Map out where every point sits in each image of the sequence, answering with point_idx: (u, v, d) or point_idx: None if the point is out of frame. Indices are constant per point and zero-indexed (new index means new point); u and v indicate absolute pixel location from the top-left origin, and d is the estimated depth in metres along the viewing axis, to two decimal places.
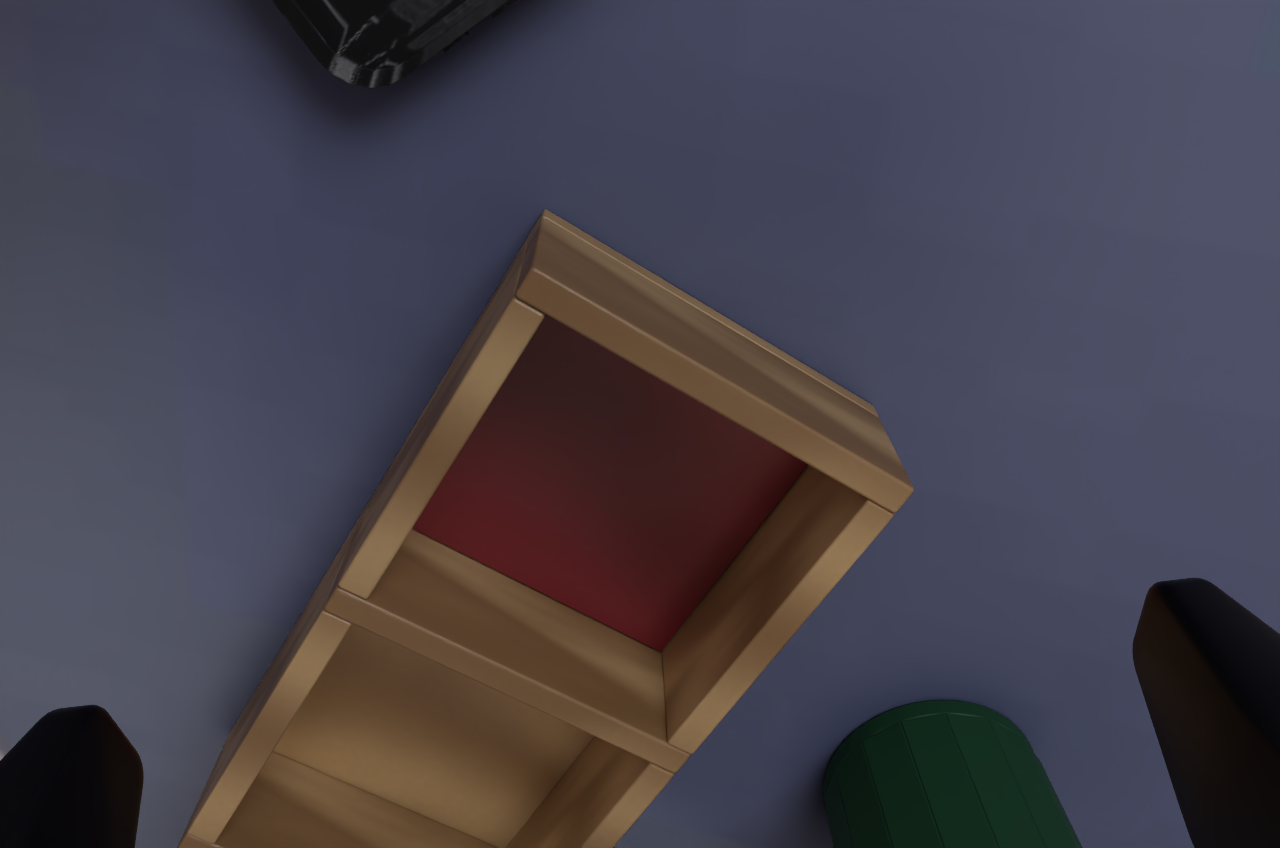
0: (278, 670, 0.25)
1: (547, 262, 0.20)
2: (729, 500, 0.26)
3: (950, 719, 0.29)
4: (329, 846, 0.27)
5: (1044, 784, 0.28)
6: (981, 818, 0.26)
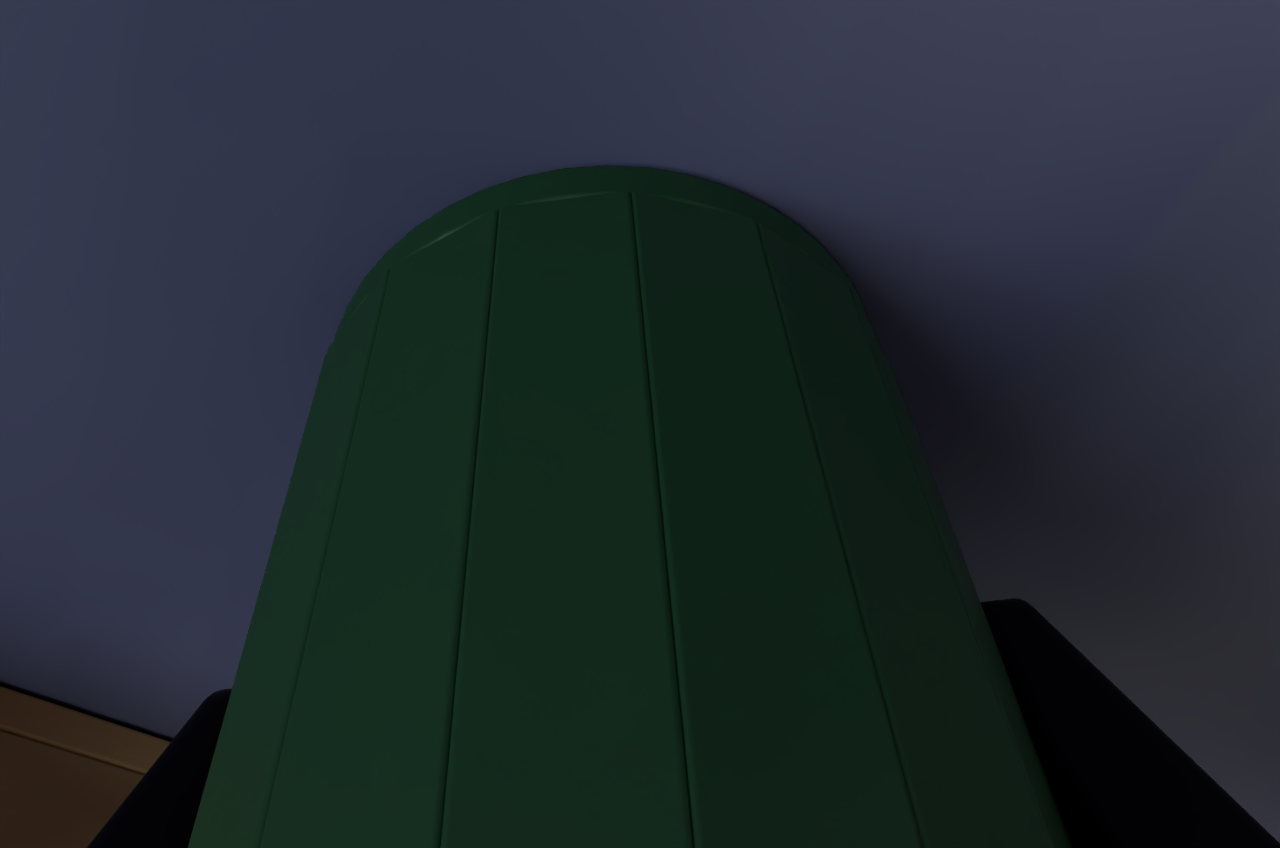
0: None
1: None
2: None
3: None
4: None
5: (362, 386, 0.09)
6: None
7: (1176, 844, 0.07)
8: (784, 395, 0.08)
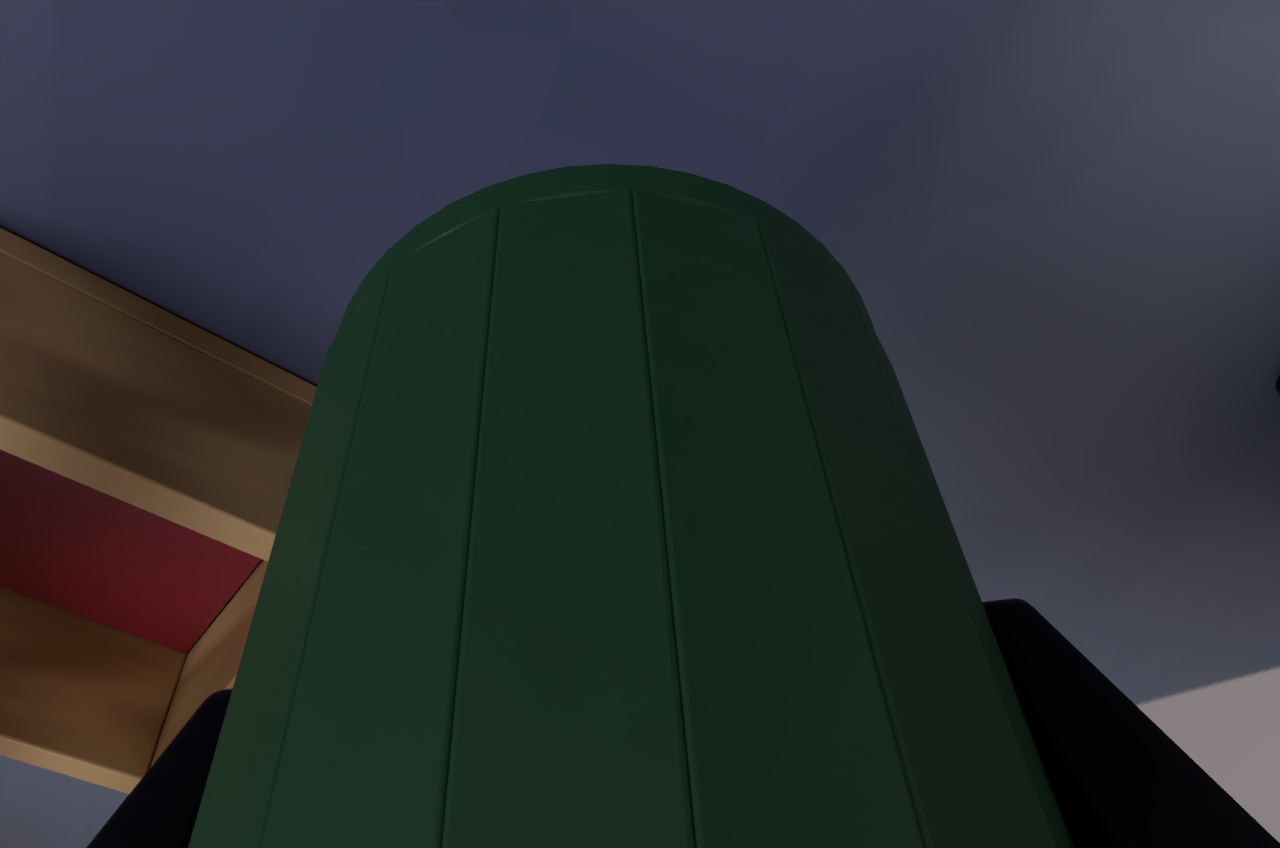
0: None
1: None
2: None
3: None
4: None
5: (362, 384, 0.09)
6: None
7: (1176, 844, 0.07)
8: (785, 393, 0.08)
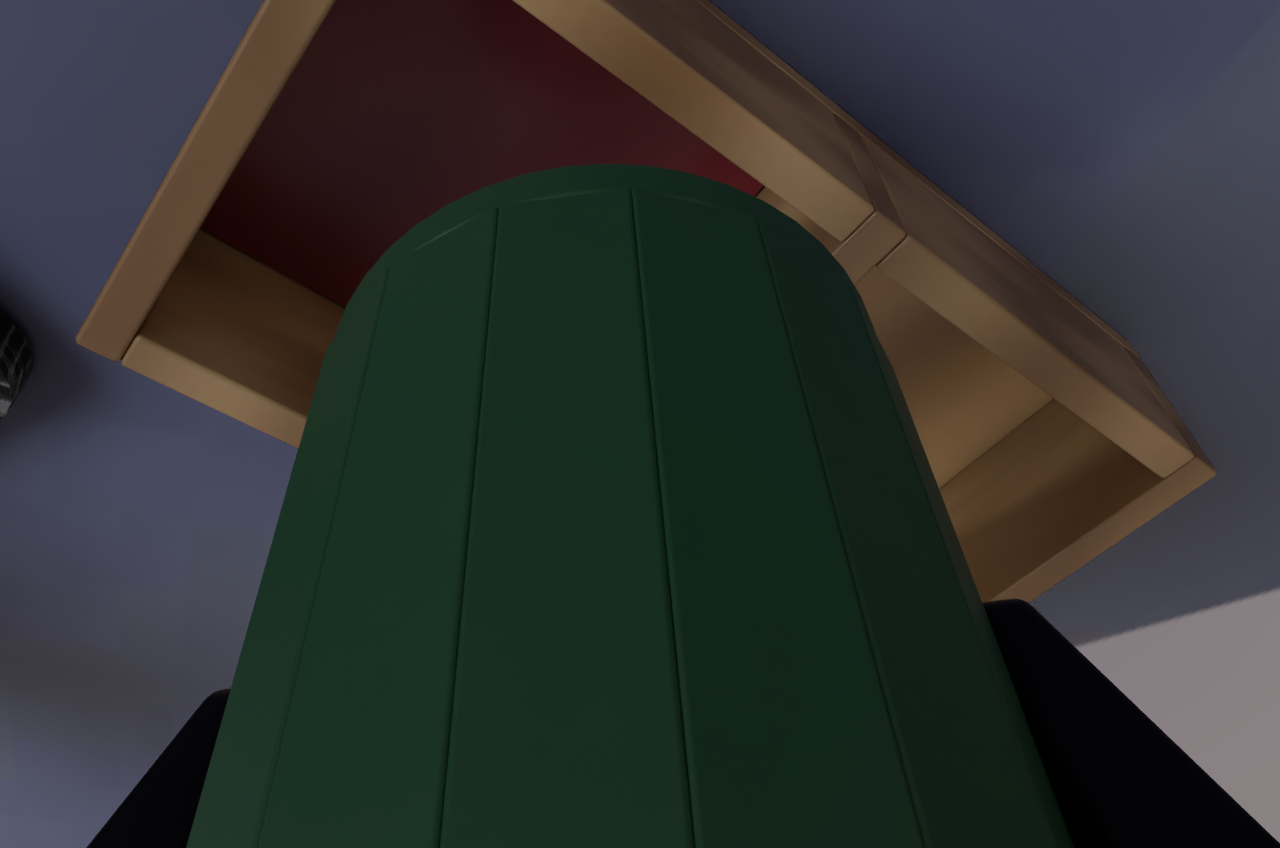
0: None
1: None
2: (542, 31, 0.17)
3: None
4: None
5: (361, 384, 0.09)
6: None
7: (1176, 844, 0.07)
8: (784, 393, 0.08)
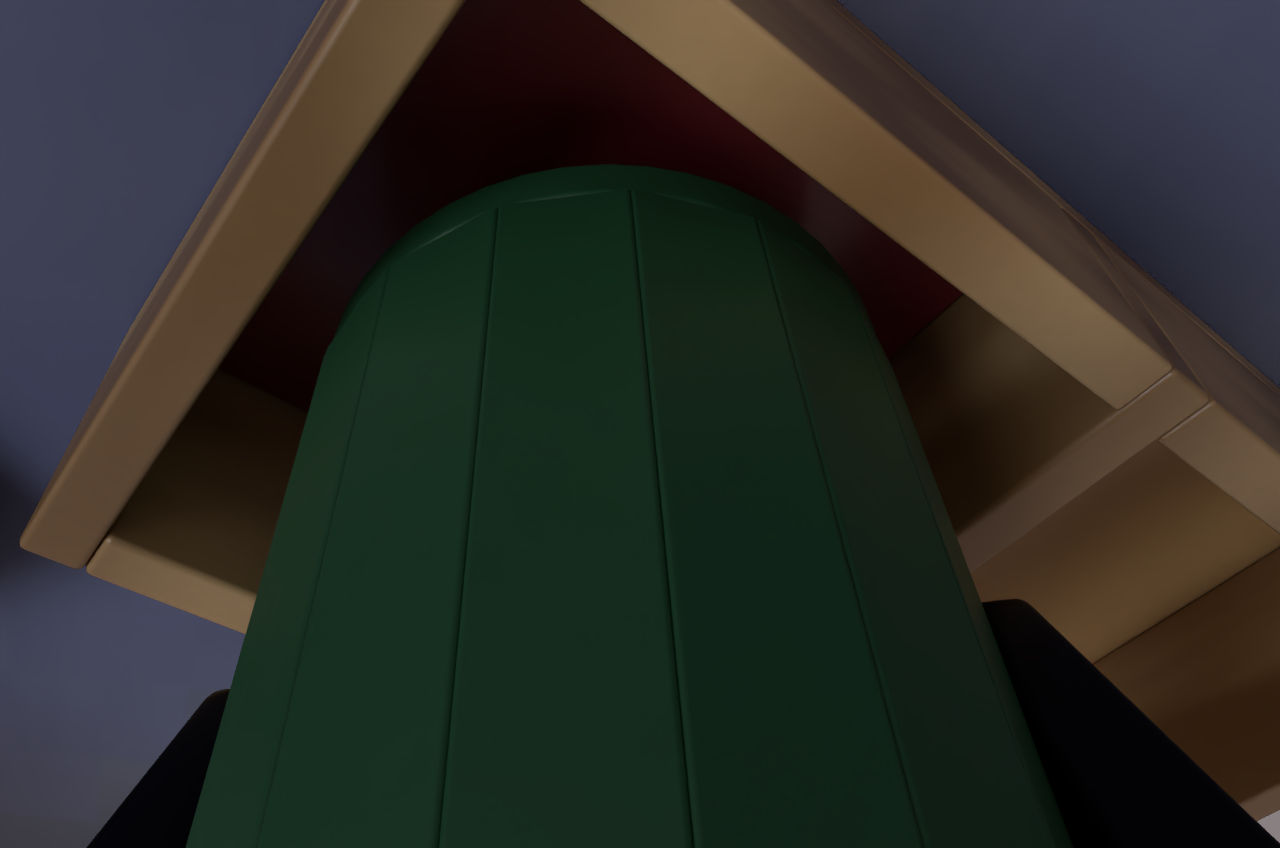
0: None
1: (46, 488, 0.12)
2: (676, 101, 0.12)
3: None
4: None
5: (360, 385, 0.09)
6: None
7: (1176, 844, 0.07)
8: (784, 393, 0.08)
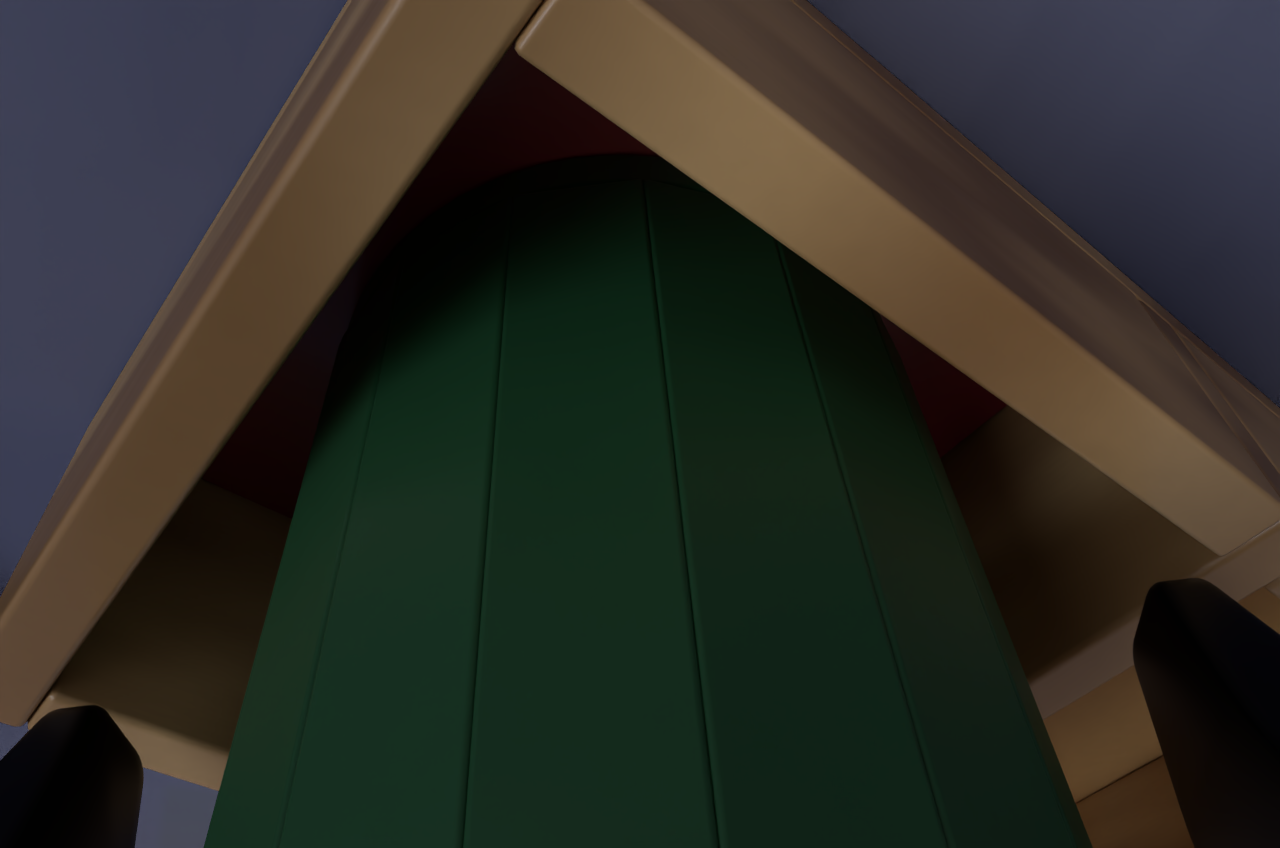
0: None
1: None
2: None
3: None
4: None
5: (378, 371, 0.09)
6: None
7: None
8: (796, 378, 0.08)
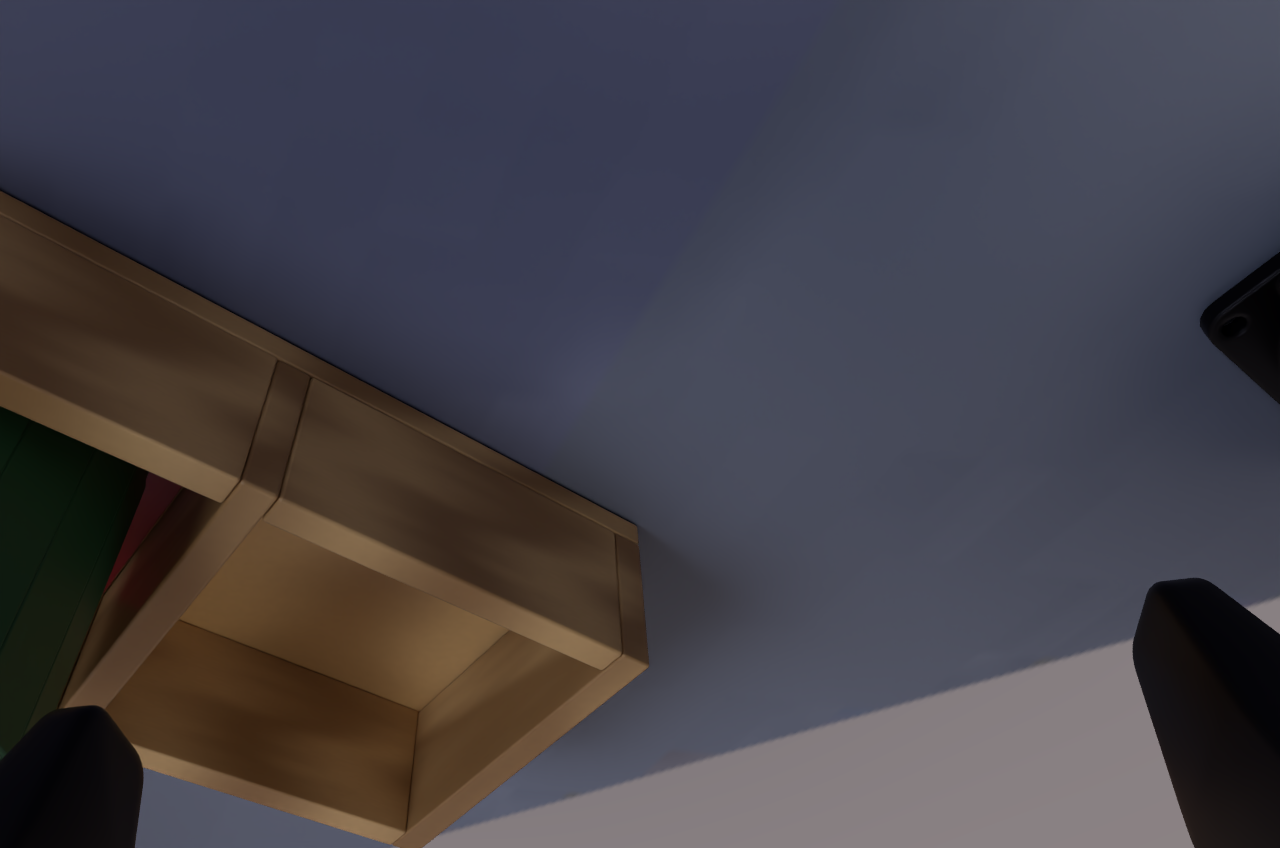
0: None
1: None
2: None
3: None
4: (472, 734, 0.25)
5: None
6: None
7: None
8: None
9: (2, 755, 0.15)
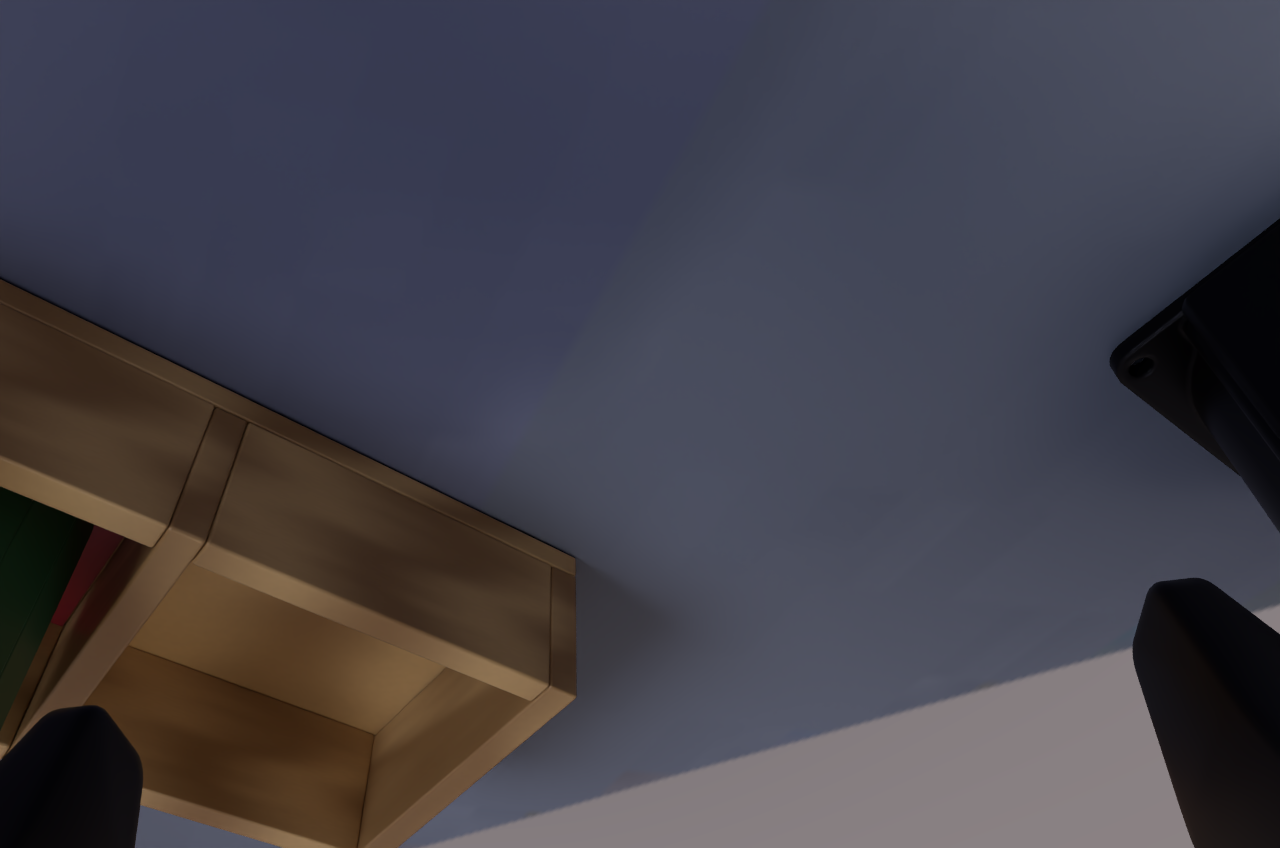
0: None
1: None
2: None
3: None
4: (418, 759, 0.26)
5: None
6: None
7: None
8: None
9: None
